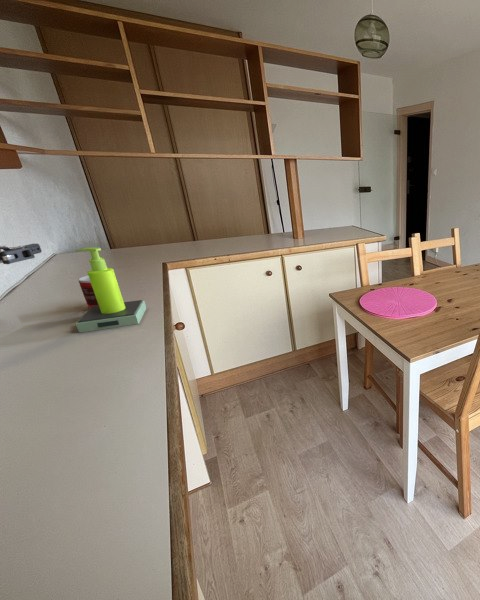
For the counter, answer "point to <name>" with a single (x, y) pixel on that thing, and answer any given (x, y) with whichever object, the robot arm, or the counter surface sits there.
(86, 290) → the canned food
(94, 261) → the soap dispenser
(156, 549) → the counter surface
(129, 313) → the scale
